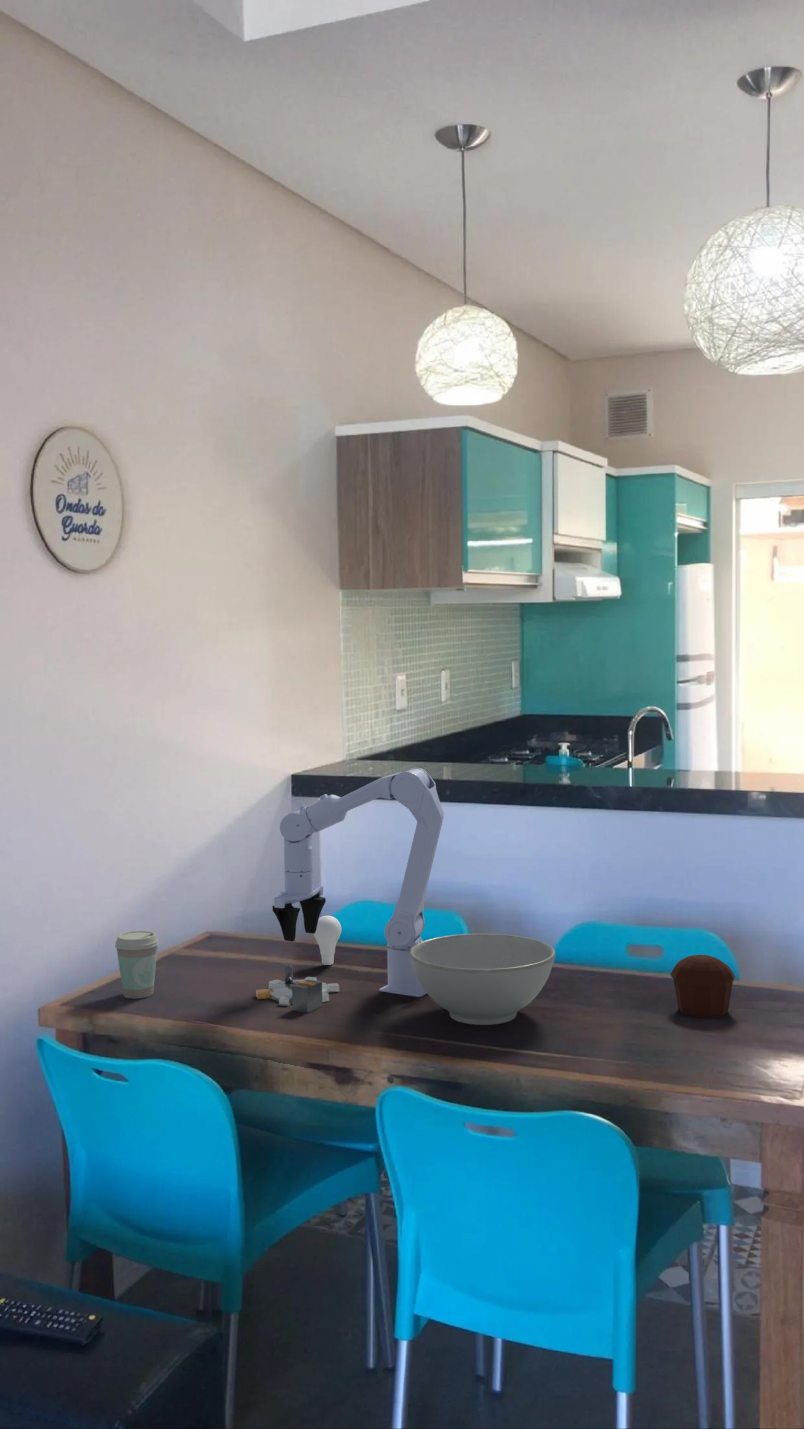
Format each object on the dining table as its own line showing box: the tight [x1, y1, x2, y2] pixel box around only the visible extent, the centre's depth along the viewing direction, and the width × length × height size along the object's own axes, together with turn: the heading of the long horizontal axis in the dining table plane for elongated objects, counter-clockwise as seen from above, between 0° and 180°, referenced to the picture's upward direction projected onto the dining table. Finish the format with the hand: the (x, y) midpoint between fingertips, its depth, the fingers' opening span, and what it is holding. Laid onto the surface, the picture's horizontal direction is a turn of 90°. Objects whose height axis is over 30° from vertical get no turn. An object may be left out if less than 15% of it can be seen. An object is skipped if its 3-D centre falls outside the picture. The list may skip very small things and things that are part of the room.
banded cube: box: [291, 980, 323, 1014], centre depth 224 cm, size 3×5×5 cm
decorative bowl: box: [410, 933, 556, 1026], centre depth 219 cm, size 27×27×12 cm
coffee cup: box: [114, 930, 160, 1000], centre depth 236 cm, size 8×8×12 cm
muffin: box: [669, 954, 736, 1019], centre depth 220 cm, size 12×11×10 cm
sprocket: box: [255, 963, 340, 1007], centre depth 234 cm, size 16×16×5 cm
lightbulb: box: [313, 915, 342, 966], centre depth 256 cm, size 6×6×11 cm
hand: (300, 936), depth 241 cm, fingers open, 7 cm apart
